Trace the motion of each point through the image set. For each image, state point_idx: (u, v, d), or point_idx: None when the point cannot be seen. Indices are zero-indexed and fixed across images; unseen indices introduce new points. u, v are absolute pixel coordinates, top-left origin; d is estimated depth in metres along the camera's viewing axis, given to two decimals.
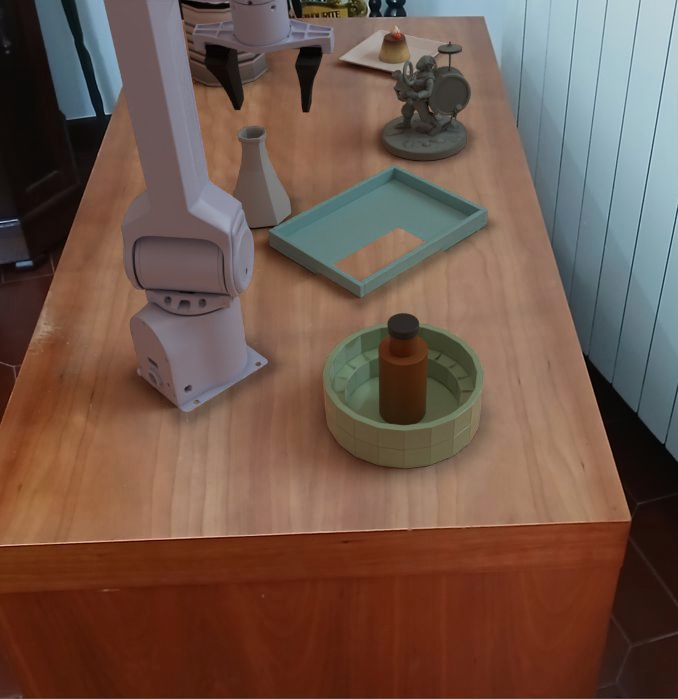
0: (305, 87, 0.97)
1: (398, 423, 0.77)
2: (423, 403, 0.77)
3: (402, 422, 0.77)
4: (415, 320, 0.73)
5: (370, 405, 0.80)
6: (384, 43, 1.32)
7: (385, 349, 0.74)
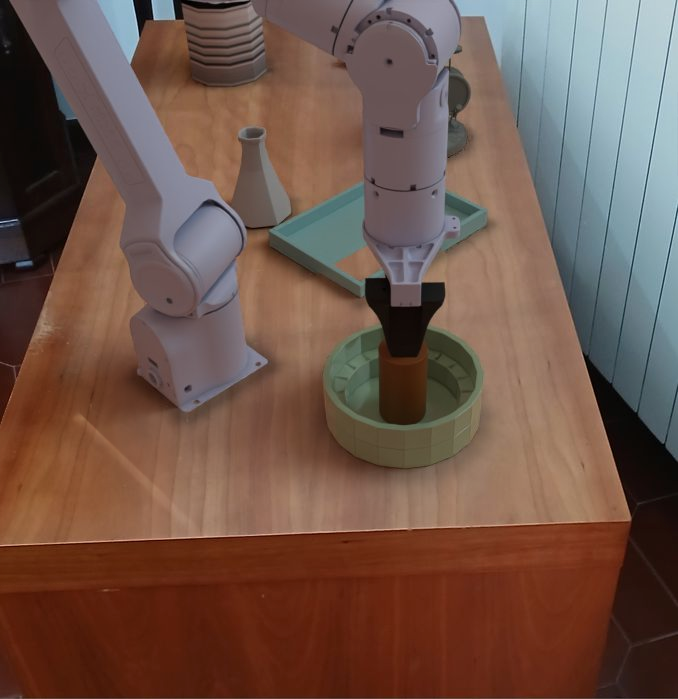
0: None
1: (398, 423, 0.77)
2: (423, 403, 0.77)
3: (402, 422, 0.77)
4: None
5: (370, 405, 0.80)
6: None
7: (385, 349, 0.74)
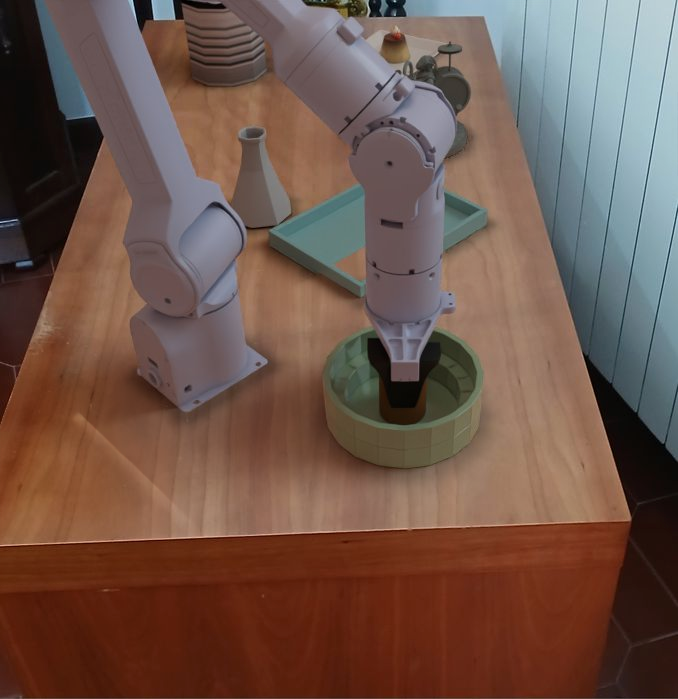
0: None
1: (398, 423, 0.77)
2: (423, 403, 0.77)
3: (402, 422, 0.77)
4: None
5: (370, 405, 0.80)
6: (384, 43, 1.32)
7: None
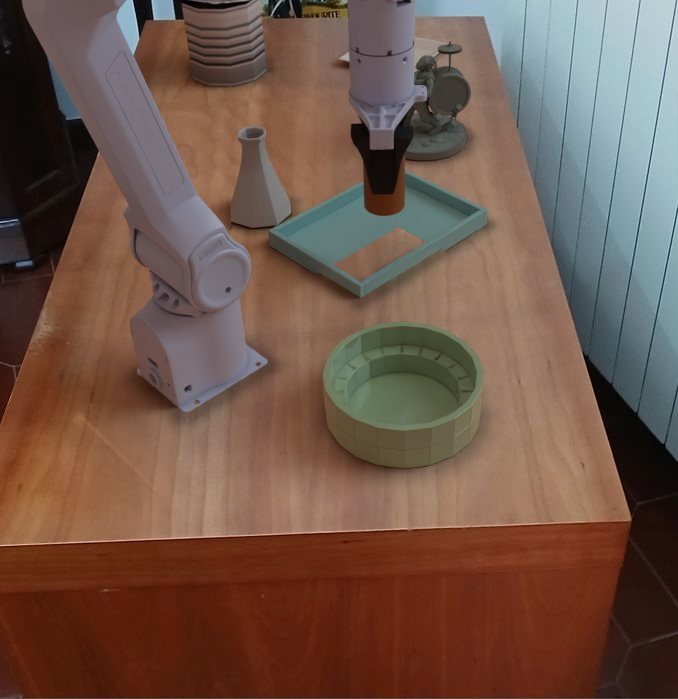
0: None
1: (380, 212, 0.89)
2: (402, 194, 0.89)
3: (383, 211, 0.89)
4: None
5: (370, 405, 0.80)
6: None
7: None
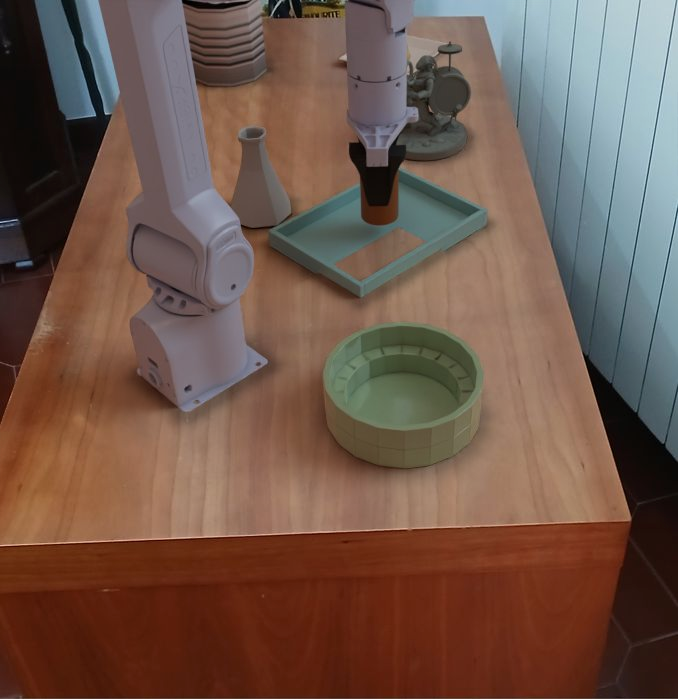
0: None
1: (376, 222, 0.97)
2: (395, 206, 0.97)
3: (379, 221, 0.97)
4: None
5: (370, 405, 0.80)
6: None
7: None
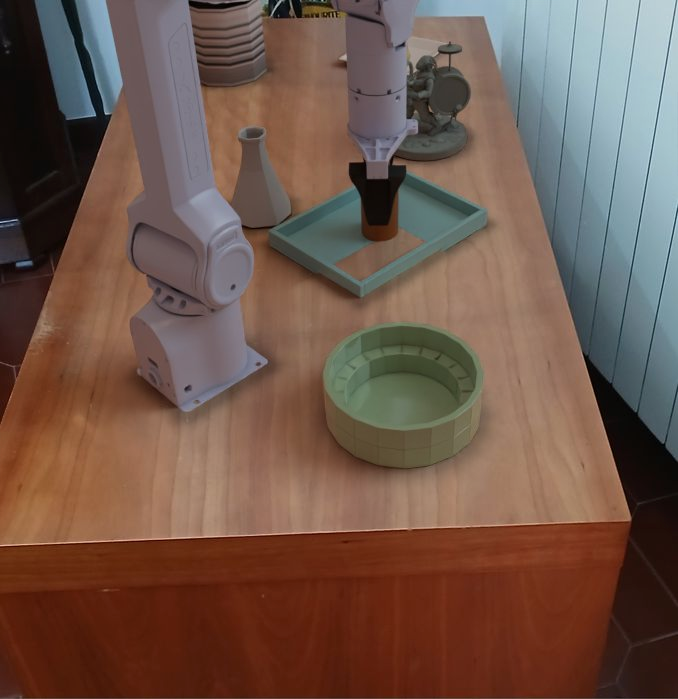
0: None
1: (376, 238, 0.98)
2: (395, 222, 0.98)
3: (379, 237, 0.98)
4: None
5: (370, 405, 0.80)
6: None
7: None
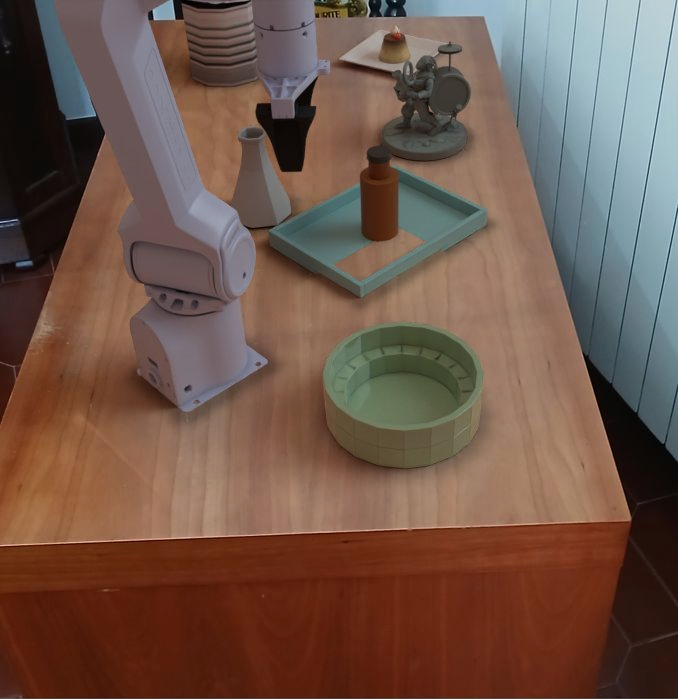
0: None
1: (376, 238, 0.98)
2: (395, 222, 0.98)
3: (379, 237, 0.98)
4: (388, 149, 0.94)
5: (370, 405, 0.80)
6: (384, 43, 1.32)
7: (365, 175, 0.95)
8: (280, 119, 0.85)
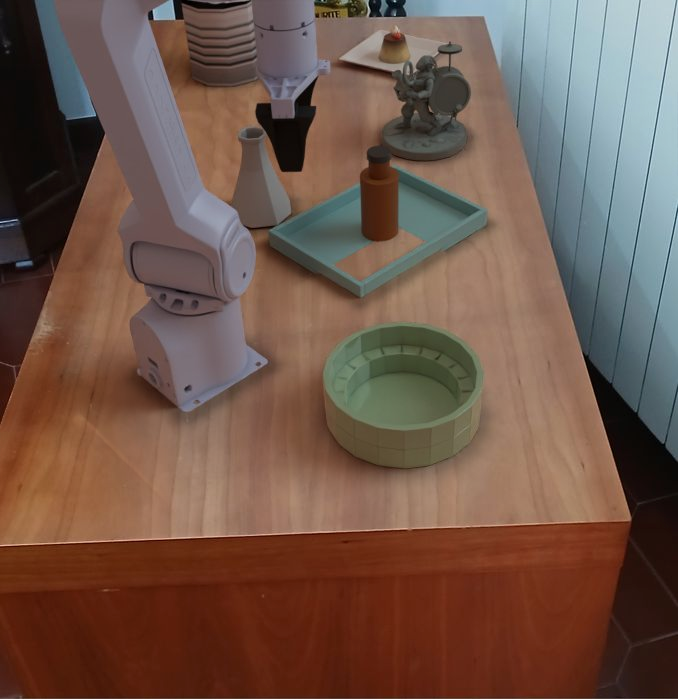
0: None
1: (376, 238, 0.98)
2: (395, 222, 0.98)
3: (379, 237, 0.98)
4: (388, 149, 0.94)
5: (370, 405, 0.80)
6: (384, 43, 1.32)
7: (365, 175, 0.95)
8: (280, 119, 0.85)
